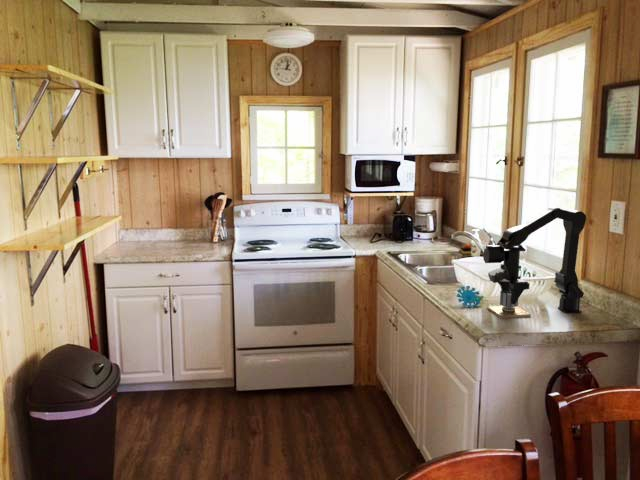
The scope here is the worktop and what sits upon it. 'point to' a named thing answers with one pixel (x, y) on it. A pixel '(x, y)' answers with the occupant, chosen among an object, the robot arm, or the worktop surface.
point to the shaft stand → (508, 311)
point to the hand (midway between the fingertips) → (509, 301)
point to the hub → (507, 299)
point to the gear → (469, 296)
